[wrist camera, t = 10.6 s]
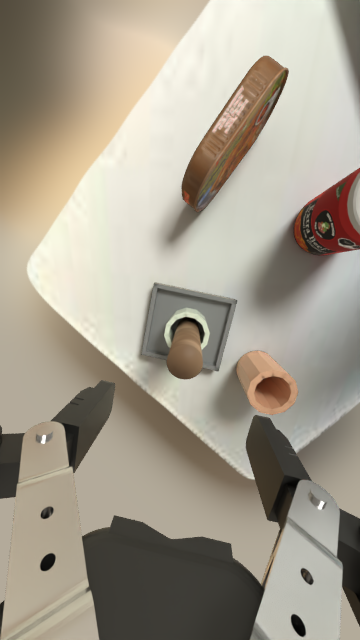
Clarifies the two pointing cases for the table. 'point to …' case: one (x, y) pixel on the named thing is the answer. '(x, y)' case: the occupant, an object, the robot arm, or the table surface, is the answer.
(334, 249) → the canned food
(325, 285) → the table surface
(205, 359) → the tray
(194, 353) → the peg
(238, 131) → the tin
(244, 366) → the cup
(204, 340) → the holder
